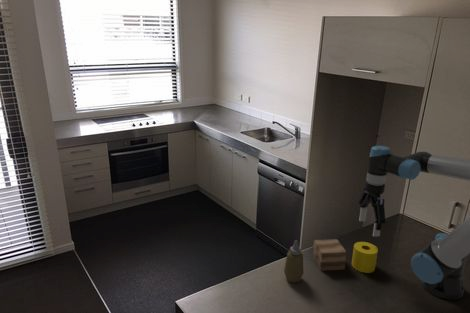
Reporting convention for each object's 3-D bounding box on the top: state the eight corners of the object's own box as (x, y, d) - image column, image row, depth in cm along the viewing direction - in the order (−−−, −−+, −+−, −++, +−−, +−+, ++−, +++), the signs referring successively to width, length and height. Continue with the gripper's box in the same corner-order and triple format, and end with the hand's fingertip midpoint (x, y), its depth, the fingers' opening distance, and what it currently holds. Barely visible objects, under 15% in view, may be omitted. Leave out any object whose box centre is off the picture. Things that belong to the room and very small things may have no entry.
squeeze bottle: (306, 278, 152) (310, 241, 146) (295, 287, 146) (299, 248, 141) (290, 270, 157) (293, 233, 152) (279, 278, 151) (282, 240, 146)
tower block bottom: (344, 270, 159) (345, 261, 158) (320, 271, 158) (321, 262, 157) (335, 256, 169) (336, 247, 168) (312, 257, 168) (313, 248, 167)
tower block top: (345, 261, 158) (346, 252, 156) (321, 262, 156) (322, 253, 155) (335, 247, 168) (336, 239, 167) (313, 248, 167) (313, 240, 166)
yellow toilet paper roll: (346, 262, 164) (349, 244, 161) (363, 257, 168) (366, 240, 165) (362, 275, 155) (365, 256, 153) (379, 269, 159) (383, 251, 157)
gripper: (399, 194, 139) (391, 242, 145) (370, 172, 163) (364, 215, 169) (381, 194, 138) (373, 243, 144) (354, 172, 162) (349, 215, 168)
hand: (368, 228), depth 157 cm, fingers open, 13 cm apart
